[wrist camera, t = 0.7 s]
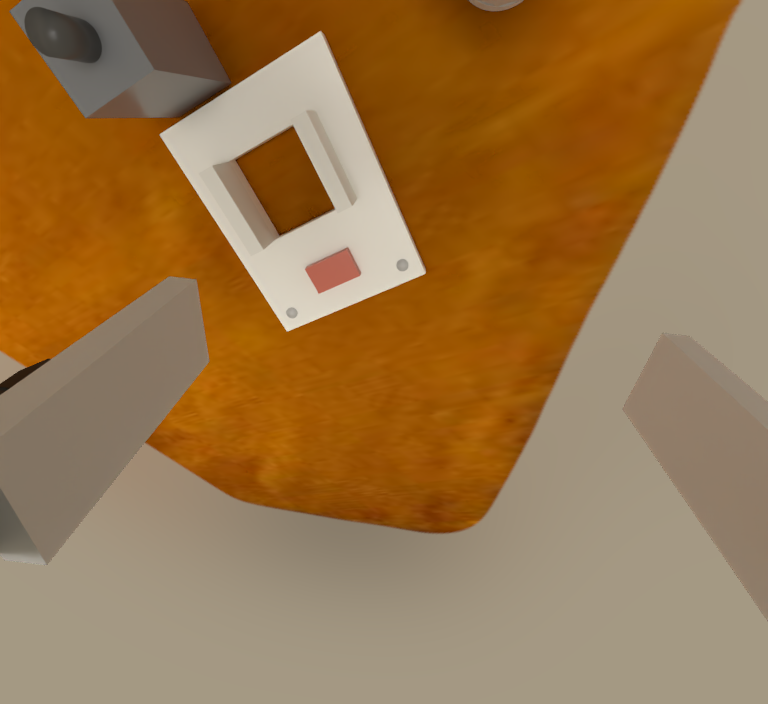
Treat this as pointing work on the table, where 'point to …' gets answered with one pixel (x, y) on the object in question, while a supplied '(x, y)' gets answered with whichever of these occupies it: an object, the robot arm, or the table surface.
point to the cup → (495, 4)
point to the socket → (335, 169)
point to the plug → (124, 55)
